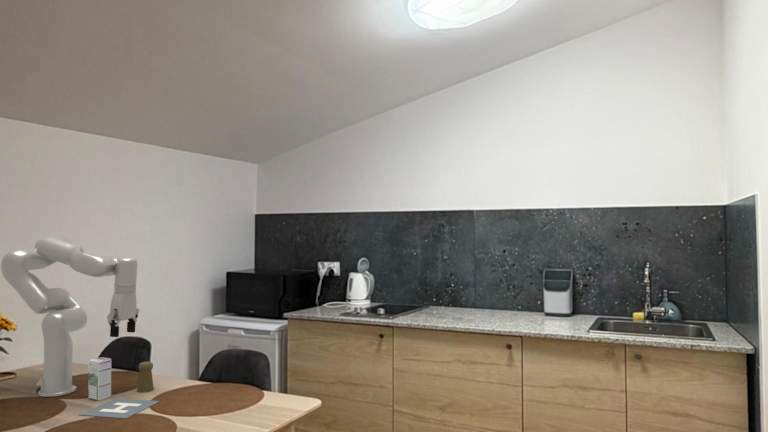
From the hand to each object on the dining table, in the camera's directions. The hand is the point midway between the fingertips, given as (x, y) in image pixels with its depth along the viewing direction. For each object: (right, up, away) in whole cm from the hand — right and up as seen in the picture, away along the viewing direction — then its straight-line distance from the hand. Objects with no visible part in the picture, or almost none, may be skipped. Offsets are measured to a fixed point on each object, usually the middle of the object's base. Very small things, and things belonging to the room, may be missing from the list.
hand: (122, 334), depth 199 cm
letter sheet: (+8, -22, -17) cm, 29 cm away
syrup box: (-6, -23, -5) cm, 24 cm away
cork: (+7, -23, +4) cm, 24 cm away
